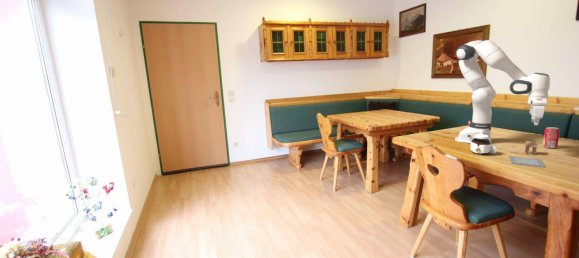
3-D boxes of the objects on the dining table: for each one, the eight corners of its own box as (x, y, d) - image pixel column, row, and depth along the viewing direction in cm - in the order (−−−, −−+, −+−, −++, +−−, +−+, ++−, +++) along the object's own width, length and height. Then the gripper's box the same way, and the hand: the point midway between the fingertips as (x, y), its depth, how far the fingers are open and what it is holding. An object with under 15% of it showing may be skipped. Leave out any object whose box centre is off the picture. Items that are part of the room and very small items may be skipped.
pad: (511, 163, 157) (511, 162, 157) (509, 156, 168) (509, 156, 168) (544, 167, 149) (545, 166, 149) (540, 160, 161) (540, 159, 161)
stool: (525, 153, 172) (527, 142, 171) (524, 151, 176) (525, 140, 175) (536, 155, 170) (537, 143, 168) (534, 152, 174) (536, 141, 172)
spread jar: (468, 152, 180) (469, 134, 178) (479, 149, 185) (481, 132, 182) (487, 157, 170) (489, 138, 167) (499, 154, 174) (501, 136, 171)
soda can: (560, 149, 178) (563, 129, 176) (546, 148, 180) (550, 129, 177) (552, 146, 185) (555, 126, 183) (539, 145, 187) (542, 126, 184)
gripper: (528, 98, 176) (525, 120, 179) (533, 102, 160) (530, 126, 163) (541, 98, 173) (538, 120, 176) (547, 102, 156) (544, 127, 159)
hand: (534, 123), depth 169 cm, fingers open, 8 cm apart
